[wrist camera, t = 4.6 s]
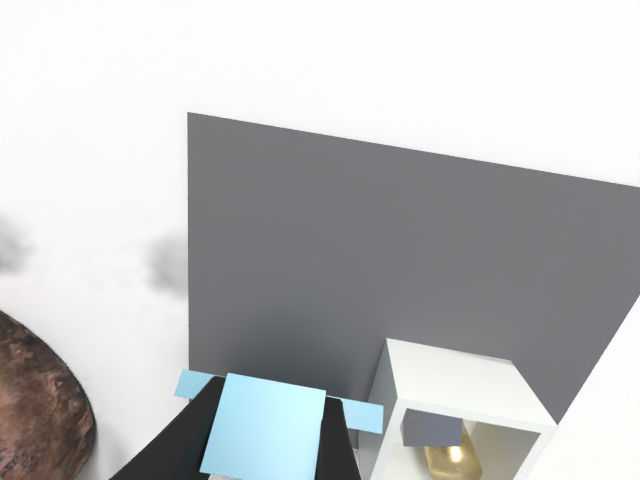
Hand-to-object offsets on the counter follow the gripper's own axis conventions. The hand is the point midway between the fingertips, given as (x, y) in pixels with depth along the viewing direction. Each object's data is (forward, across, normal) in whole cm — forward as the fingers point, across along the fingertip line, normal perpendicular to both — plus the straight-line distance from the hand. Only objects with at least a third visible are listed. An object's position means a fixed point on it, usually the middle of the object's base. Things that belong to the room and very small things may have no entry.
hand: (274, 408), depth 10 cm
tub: (+9, -10, +7) cm, 15 cm away
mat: (+9, -6, +2) cm, 11 cm away
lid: (+4, 0, +3) cm, 5 cm away
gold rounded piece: (+8, -11, +9) cm, 16 cm away
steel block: (+8, -8, +6) cm, 13 cm away
